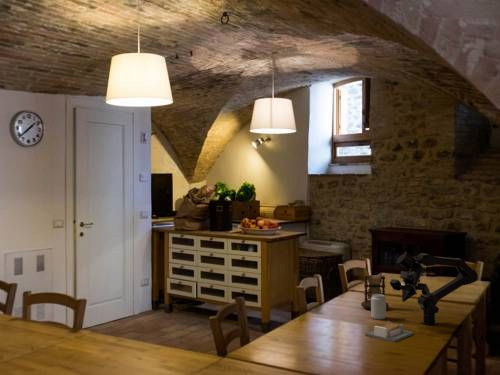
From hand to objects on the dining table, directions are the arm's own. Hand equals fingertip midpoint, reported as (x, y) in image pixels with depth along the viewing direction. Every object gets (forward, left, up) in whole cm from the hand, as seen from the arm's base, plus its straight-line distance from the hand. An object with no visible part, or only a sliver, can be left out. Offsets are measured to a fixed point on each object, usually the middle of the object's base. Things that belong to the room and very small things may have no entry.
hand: (403, 301), depth 259 cm
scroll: (-27, -33, -14) cm, 45 cm away
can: (-10, -20, -14) cm, 26 cm away
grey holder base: (+13, 0, -14) cm, 19 cm away
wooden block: (+8, 0, -10) cm, 13 cm away
